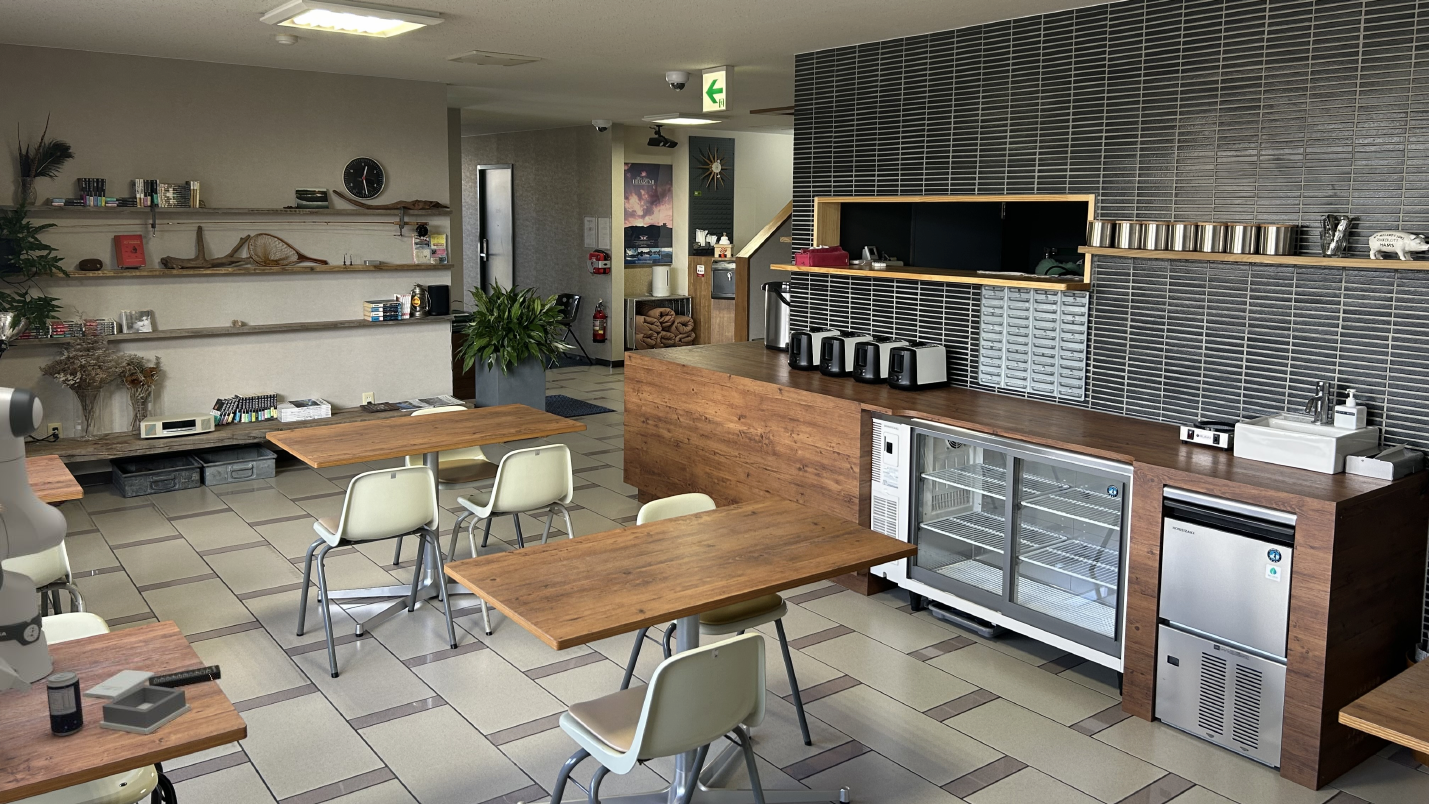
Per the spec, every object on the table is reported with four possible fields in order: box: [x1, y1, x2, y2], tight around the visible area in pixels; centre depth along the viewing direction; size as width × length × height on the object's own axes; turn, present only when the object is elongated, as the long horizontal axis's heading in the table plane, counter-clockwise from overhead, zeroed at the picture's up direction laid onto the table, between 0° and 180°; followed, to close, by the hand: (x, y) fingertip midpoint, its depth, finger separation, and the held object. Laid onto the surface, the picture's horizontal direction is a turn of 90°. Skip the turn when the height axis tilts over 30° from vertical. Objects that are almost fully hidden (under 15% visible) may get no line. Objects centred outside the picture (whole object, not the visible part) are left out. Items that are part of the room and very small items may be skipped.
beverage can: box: [46, 670, 84, 736], centre depth 214 cm, size 6×6×12 cm
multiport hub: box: [148, 664, 222, 689], centre depth 239 cm, size 4×14×2 cm, turn 121°
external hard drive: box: [81, 669, 156, 701], centre depth 236 cm, size 2×8×12 cm
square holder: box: [98, 683, 192, 735], centre depth 221 cm, size 12×12×4 cm
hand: (22, 681), depth 208 cm, fingers open, 8 cm apart
